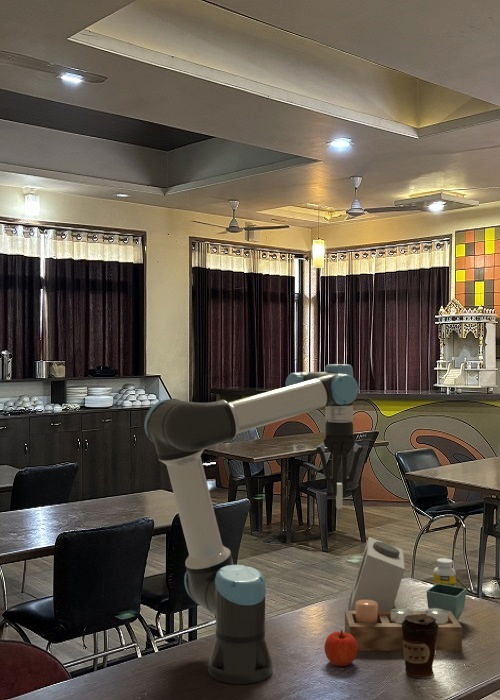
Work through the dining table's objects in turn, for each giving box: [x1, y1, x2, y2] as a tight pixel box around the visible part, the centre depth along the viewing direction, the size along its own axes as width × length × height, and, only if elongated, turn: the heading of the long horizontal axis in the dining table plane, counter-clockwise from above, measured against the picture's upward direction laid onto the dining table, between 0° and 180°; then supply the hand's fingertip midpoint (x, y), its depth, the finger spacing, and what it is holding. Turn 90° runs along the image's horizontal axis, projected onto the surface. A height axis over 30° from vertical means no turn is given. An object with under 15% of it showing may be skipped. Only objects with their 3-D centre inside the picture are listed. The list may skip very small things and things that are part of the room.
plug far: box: [425, 608, 448, 624], centre depth 203 cm, size 6×6×7 cm
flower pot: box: [426, 584, 467, 622], centre depth 218 cm, size 9×9×9 cm
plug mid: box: [391, 607, 413, 623], centre depth 203 cm, size 6×6×7 cm
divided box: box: [344, 609, 463, 652], centre depth 203 cm, size 28×12×6 cm, turn 89°
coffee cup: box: [402, 614, 439, 679], centre depth 183 cm, size 9×8×13 cm
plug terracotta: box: [356, 600, 378, 623], centre depth 203 cm, size 6×6×7 cm
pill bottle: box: [433, 557, 457, 587], centre depth 238 cm, size 6×6×12 cm
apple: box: [323, 629, 359, 667], centre depth 189 cm, size 8×8×8 cm
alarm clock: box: [347, 536, 406, 611], centre depth 225 cm, size 20×16×20 cm
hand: (339, 507), depth 214 cm, fingers closed
